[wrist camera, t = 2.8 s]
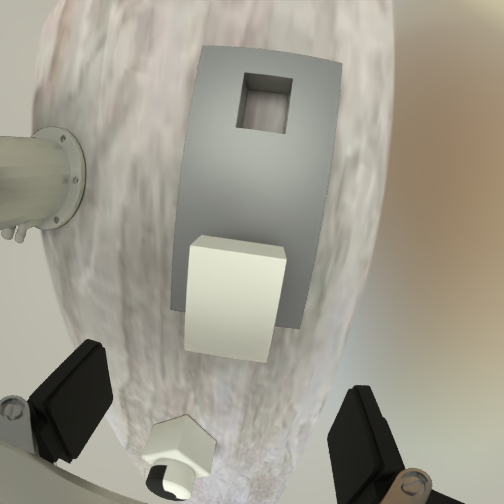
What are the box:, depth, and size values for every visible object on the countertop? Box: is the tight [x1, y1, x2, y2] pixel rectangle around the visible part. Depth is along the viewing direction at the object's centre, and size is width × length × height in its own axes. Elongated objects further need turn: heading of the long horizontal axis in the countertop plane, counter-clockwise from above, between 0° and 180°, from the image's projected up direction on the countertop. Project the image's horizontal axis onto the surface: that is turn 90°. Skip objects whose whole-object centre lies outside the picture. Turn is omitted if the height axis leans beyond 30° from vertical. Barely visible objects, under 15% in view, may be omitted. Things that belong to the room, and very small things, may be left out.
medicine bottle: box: [141, 415, 216, 501], centre depth 31 cm, size 7×7×12 cm
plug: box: [184, 235, 287, 363], centre depth 21 cm, size 7×5×8 cm
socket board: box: [170, 46, 342, 329], centre depth 25 cm, size 24×12×5 cm, turn 172°
